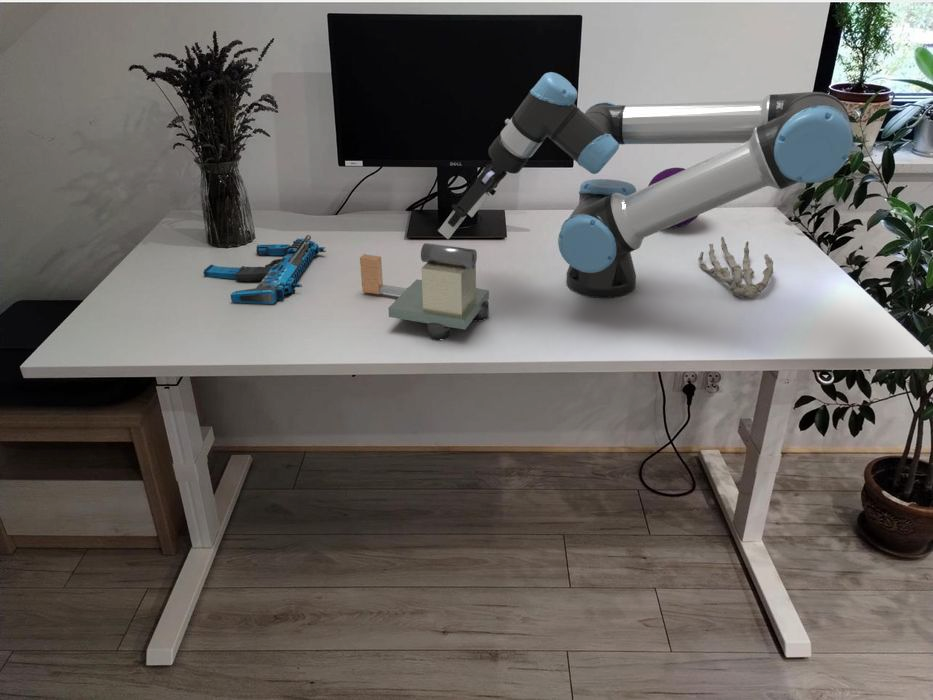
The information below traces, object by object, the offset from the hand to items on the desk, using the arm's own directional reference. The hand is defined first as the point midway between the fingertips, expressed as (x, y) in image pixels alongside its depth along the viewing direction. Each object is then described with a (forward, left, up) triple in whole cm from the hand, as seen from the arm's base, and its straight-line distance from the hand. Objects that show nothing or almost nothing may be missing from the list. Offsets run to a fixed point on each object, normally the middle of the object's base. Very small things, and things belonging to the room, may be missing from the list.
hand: (455, 223), depth 165 cm
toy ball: (-39, -54, -16) cm, 69 cm away
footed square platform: (-2, +15, -15) cm, 21 cm away
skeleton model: (-57, -27, -16) cm, 65 cm away
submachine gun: (+46, +5, -16) cm, 49 cm away
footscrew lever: (+11, +8, -15) cm, 20 cm away
